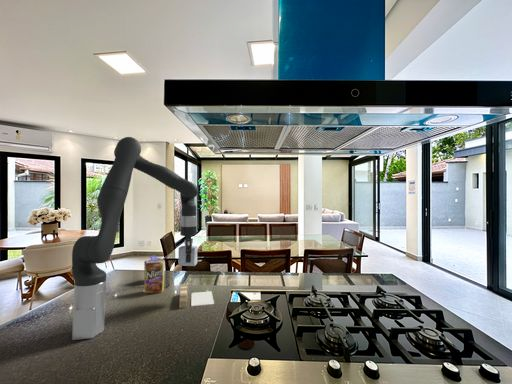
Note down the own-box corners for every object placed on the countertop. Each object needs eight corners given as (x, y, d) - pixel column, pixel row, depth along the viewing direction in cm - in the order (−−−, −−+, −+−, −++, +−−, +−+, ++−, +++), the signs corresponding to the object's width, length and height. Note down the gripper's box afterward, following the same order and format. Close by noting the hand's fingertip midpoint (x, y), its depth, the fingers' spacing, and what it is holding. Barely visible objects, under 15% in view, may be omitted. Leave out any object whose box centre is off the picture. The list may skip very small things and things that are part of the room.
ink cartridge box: (158, 278, 147) (159, 253, 148) (164, 279, 144) (164, 255, 145) (143, 282, 139) (144, 256, 140) (149, 284, 136) (150, 258, 137)
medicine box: (197, 263, 118) (197, 246, 118) (194, 266, 113) (194, 247, 114) (181, 263, 118) (181, 245, 119) (178, 266, 114) (178, 247, 114)
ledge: (186, 307, 106) (186, 295, 106) (179, 307, 105) (179, 296, 106) (187, 294, 121) (187, 283, 122) (181, 294, 121) (181, 284, 121)
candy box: (143, 293, 121) (144, 262, 122) (146, 290, 126) (147, 260, 126) (162, 293, 123) (163, 262, 123) (164, 290, 127) (165, 260, 128)
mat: (214, 304, 109) (214, 303, 109) (191, 306, 107) (191, 305, 107) (211, 292, 124) (211, 291, 125) (191, 293, 122) (191, 292, 122)
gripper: (197, 226, 111) (196, 264, 110) (196, 223, 124) (195, 256, 124) (180, 227, 108) (179, 265, 108) (180, 224, 122) (180, 257, 122)
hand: (188, 260), depth 116 cm, fingers closed on medicine box, 5 cm apart
